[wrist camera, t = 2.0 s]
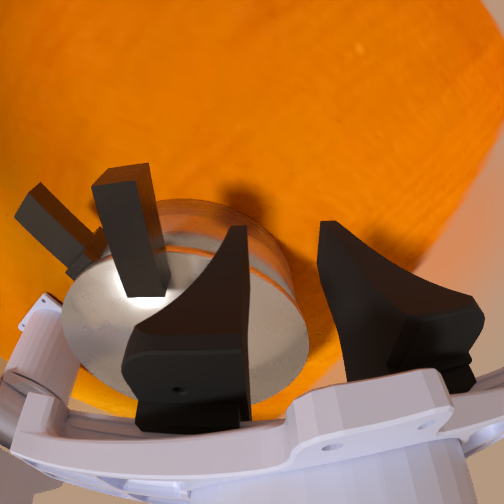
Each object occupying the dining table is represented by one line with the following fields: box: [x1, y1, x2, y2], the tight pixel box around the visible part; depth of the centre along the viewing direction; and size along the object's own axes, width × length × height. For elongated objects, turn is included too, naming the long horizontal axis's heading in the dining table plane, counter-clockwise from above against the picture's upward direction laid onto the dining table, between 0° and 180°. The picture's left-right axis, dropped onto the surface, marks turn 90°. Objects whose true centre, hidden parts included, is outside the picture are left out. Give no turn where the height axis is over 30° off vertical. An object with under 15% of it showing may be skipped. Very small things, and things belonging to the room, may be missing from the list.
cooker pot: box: [14, 182, 297, 304], centre depth 22 cm, size 23×17×6 cm
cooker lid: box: [61, 163, 309, 405], centre depth 19 cm, size 22×18×3 cm
